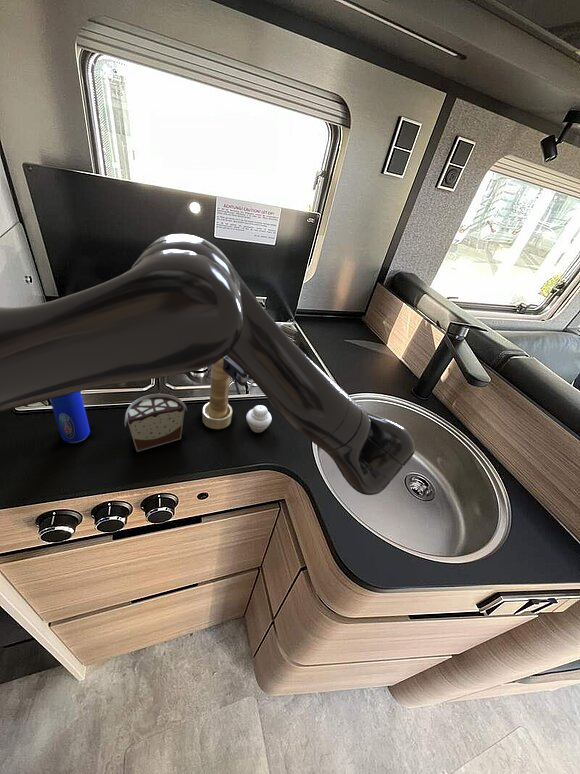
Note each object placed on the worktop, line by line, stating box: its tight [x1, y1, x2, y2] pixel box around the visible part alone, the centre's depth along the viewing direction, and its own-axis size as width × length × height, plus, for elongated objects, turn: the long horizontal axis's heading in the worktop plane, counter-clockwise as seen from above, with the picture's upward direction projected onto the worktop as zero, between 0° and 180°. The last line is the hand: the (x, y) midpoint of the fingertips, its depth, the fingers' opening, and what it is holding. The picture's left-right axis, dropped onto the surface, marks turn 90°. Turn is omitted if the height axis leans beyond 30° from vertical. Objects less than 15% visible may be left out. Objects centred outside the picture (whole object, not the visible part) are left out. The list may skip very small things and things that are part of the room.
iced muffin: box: [123, 393, 188, 453], centre depth 72 cm, size 12×6×10 cm, turn 123°
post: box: [209, 358, 231, 419], centre depth 74 cm, size 4×4×26 cm
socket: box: [201, 401, 233, 430], centre depth 81 cm, size 7×7×3 cm
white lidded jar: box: [245, 404, 273, 434], centre depth 80 cm, size 6×6×7 cm
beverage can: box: [49, 391, 91, 444], centre depth 66 cm, size 5×5×15 cm
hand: (242, 341), depth 63 cm, fingers open, 8 cm apart
